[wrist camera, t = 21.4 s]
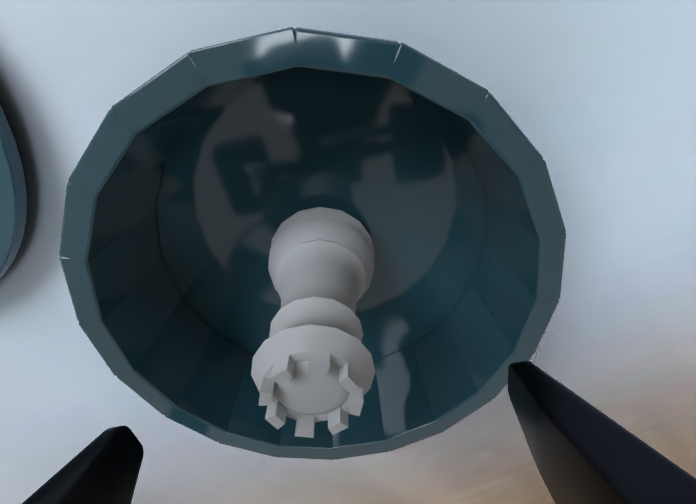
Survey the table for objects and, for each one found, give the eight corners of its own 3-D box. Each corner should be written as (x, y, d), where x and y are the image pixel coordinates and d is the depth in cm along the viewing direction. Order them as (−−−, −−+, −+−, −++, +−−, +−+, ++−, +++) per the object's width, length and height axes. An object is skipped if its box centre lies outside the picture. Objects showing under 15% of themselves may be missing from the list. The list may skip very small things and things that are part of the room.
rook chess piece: (390, 224, 15) (437, 363, 8) (350, 304, 17) (360, 474, 10) (289, 186, 14) (243, 306, 7) (259, 275, 16) (199, 440, 9)
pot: (499, 344, 19) (548, 428, 15) (220, 390, 20) (188, 482, 16) (499, -5, 12) (594, -44, 8) (67, 95, 13) (-72, 111, 9)
